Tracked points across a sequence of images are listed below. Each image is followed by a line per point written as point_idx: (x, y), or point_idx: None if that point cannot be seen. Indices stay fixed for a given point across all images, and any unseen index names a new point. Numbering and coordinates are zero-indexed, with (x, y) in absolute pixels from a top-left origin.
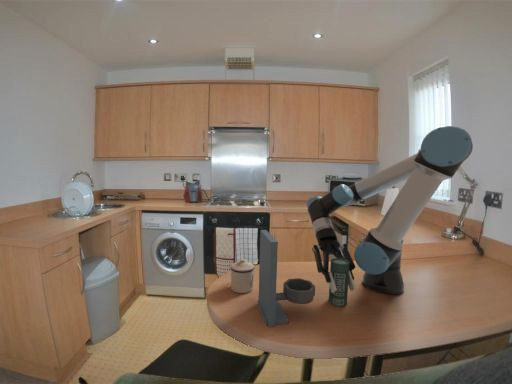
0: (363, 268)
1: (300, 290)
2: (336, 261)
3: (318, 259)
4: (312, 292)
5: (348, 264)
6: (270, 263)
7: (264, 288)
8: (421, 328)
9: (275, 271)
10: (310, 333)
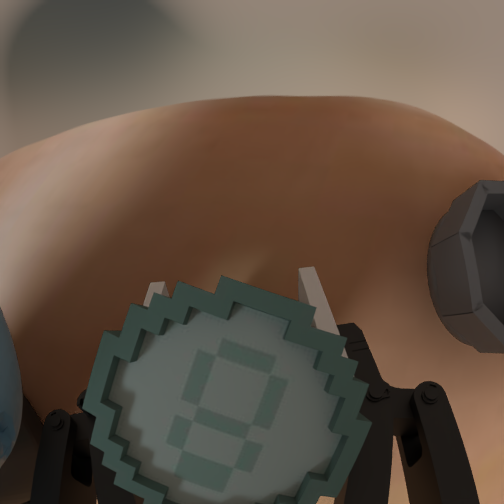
0: (6, 345)
1: (483, 303)
2: (261, 460)
3: (470, 478)
4: (462, 205)
5: (123, 336)
6: None
7: None
8: (48, 161)
9: None
10: (417, 151)
